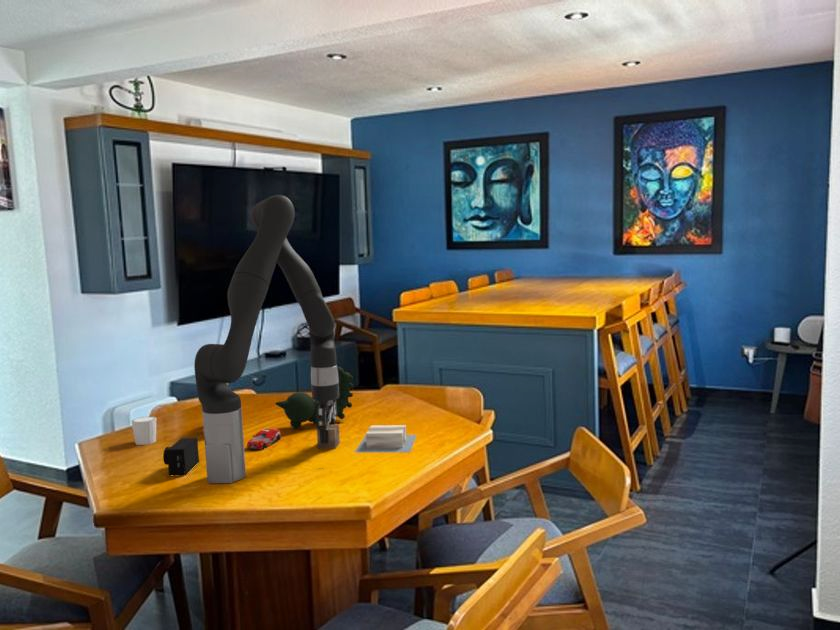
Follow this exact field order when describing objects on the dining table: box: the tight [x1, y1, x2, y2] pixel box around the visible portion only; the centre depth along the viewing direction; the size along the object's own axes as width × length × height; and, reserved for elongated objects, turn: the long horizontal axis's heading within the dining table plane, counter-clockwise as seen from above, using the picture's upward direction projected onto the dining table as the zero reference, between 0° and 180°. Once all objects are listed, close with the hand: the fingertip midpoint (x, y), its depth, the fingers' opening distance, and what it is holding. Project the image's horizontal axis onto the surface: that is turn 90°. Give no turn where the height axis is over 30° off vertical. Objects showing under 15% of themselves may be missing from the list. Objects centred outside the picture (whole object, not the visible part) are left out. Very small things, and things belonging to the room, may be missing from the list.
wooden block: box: [365, 424, 407, 448], centre depth 193 cm, size 8×10×4 cm
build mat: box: [354, 434, 418, 453], centre depth 193 cm, size 16×15×1 cm
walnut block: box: [316, 424, 341, 450], centre depth 193 cm, size 5×5×6 cm
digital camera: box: [162, 437, 200, 477], centre depth 179 cm, size 10×5×7 cm, turn 179°
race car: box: [246, 428, 282, 450], centre depth 199 cm, size 13×5×4 cm, turn 161°
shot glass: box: [131, 416, 157, 446], centre depth 205 cm, size 7×7×7 cm
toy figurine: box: [275, 365, 354, 430], centre depth 217 cm, size 9×19×25 cm
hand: (328, 438), depth 193 cm, fingers open, 8 cm apart
